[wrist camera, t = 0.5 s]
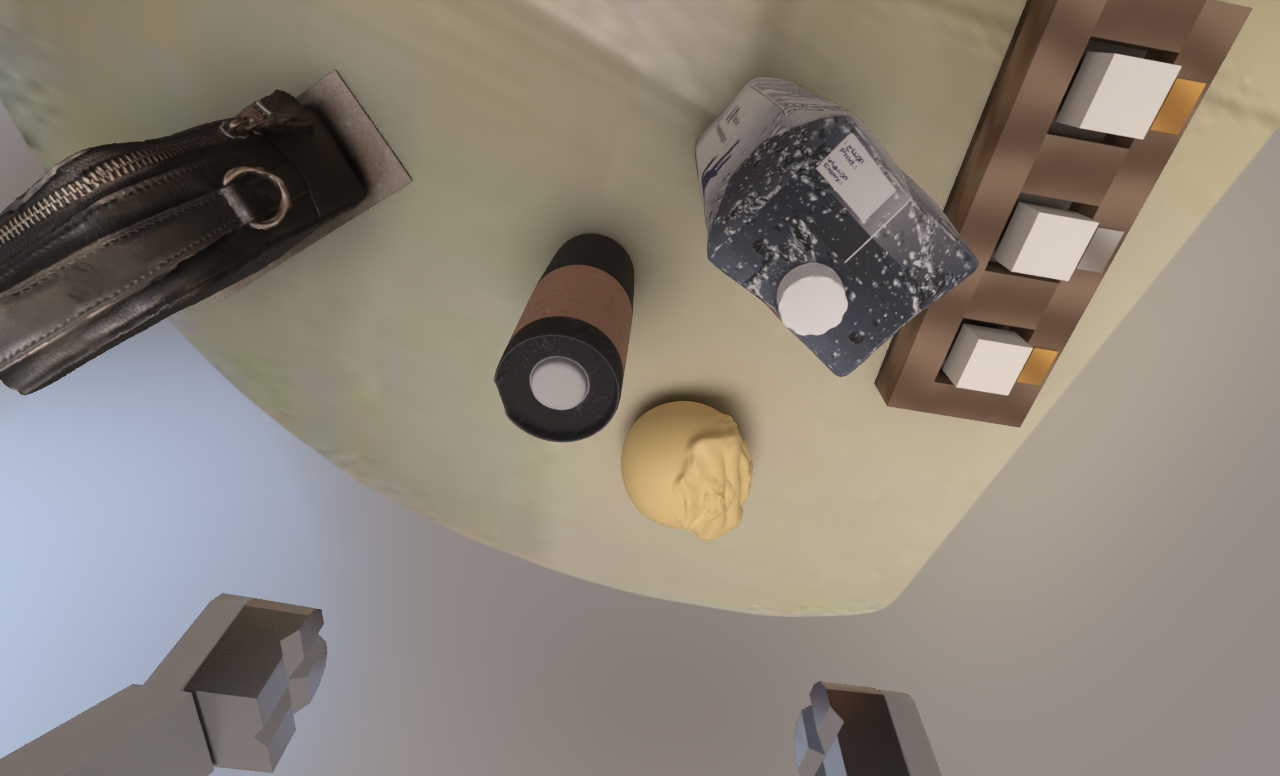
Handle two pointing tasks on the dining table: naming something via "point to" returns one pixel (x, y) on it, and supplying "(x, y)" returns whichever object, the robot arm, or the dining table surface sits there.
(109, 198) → the shoulder bag
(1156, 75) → the button
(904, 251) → the juice carton
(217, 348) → the dining table surface
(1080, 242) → the button middle
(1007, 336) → the button
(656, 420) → the sculpture
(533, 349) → the travel mug
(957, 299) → the button board
